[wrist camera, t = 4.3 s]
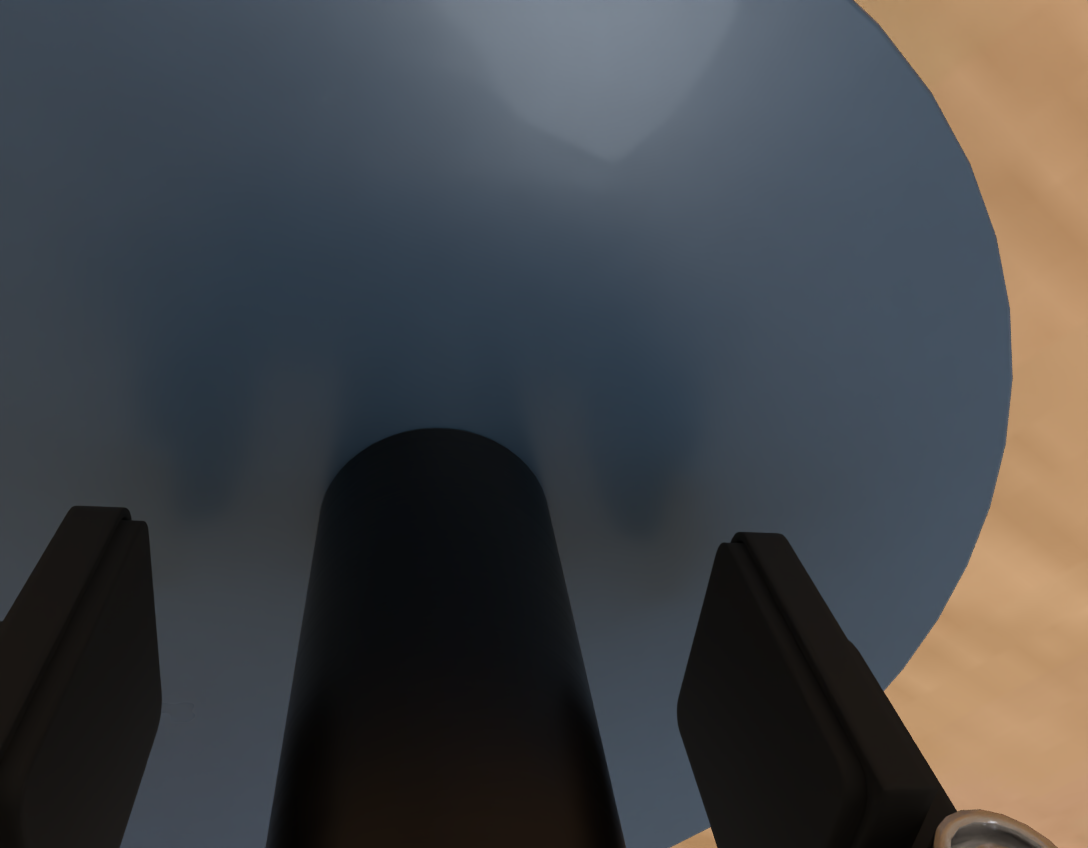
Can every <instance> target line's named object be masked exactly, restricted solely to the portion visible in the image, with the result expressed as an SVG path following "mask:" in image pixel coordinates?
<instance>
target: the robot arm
mask: <svg viewBox="0 0 1088 848" xmlns="http://www.w3.org/2000/svg"><path fill="white" fill-rule="evenodd" d="M161 709H162V690H161V678H160V665H159V653H158V640H157V628H156V615H155V603H154V590H153V578H152V566H151V553H150V541H149V530H148V525H147V523H146V522H145V521H134V520H132V518H131V514H130V511H129V510H128V509H127V508H126V507H101V506H73V507H71V509H70V510H69V511H68V512H67V514H66V516H65V517H64V519H63V521H62V522H61V524H60V526H59V527H58V529H57V531H56V533H55V534H54V536H53V538H52V539H51V541H50V543H49V544H48V546H47V548H46V549H45V551H44V553H43V554H42V556H41V558H40V559H39V561H38V563H37V564H36V566H35V568H34V570H33V571H32V573H31V575H30V576H29V578H28V580H27V581H26V583H25V585H24V586H23V588H22V590H21V591H20V593H19V595H18V596H17V598H16V600H15V601H14V603H13V605H12V607H11V608H10V610H9V612H8V613H7V615H6V617H5V618H4V620H3V621H0V848H120V845H121V842H122V839H123V836H124V833H125V830H126V827H127V824H128V820H129V817H130V814H131V811H132V808H133V805H134V802H135V799H136V796H137V792H138V789H139V786H140V783H141V780H142V777H143V774H144V771H145V768H146V764H147V761H148V758H149V755H150V752H151V749H152V746H153V743H154V740H155V736H156V733H157V730H158V726H159V722H160V717H161ZM677 722H678V728H679V732H680V735H681V738H682V741H683V744H684V747H685V750H686V753H687V756H688V759H689V762H690V765H691V768H692V771H693V774H694V777H695V780H696V783H697V786H698V789H699V792H700V796H701V799H702V802H703V805H704V808H705V811H706V814H707V817H708V820H709V823H710V826H711V829H712V832H713V835H714V838H715V841H716V844H717V847H718V848H1057V847H1056V846H1055V845H1054V844H1053V843H1052V842H1051V841H1050V840H1049V839H1047V838H1046V837H1044V836H1043V835H1041V834H1040V833H1038V832H1037V831H1035V830H1034V829H1032V828H1031V827H1029V826H1028V825H1026V824H1024V823H1021V822H1019V821H1017V820H1015V819H1012V818H1010V817H1008V816H1005V815H1003V814H999V813H994V812H990V811H985V810H981V809H979V810H960V811H958V812H957V810H956V809H955V807H954V806H953V804H952V802H951V801H950V799H949V797H948V796H947V794H946V793H945V791H944V789H943V788H942V786H941V784H940V783H939V781H938V779H937V778H936V776H935V775H934V773H933V771H932V770H931V768H930V766H929V765H928V763H927V761H926V760H925V758H924V757H923V755H922V753H921V752H920V750H919V748H918V747H917V745H916V744H915V742H914V740H913V739H912V737H911V735H910V734H909V732H908V730H907V729H906V727H905V726H904V724H903V722H902V721H901V719H900V717H899V716H898V714H897V712H896V711H895V709H894V708H893V706H892V704H891V703H890V701H889V699H888V698H887V696H886V695H885V693H884V691H883V690H882V688H881V686H880V685H879V683H878V681H877V680H876V678H875V677H874V675H873V673H872V672H871V670H870V668H869V667H868V665H867V663H866V662H865V660H864V659H863V657H862V655H861V654H860V652H859V651H858V649H857V648H856V647H855V646H854V644H853V643H852V642H851V641H849V640H848V639H847V637H846V635H845V634H844V632H843V630H842V629H841V627H840V626H839V624H838V622H837V621H836V619H835V617H834V616H833V614H832V612H831V611H830V609H829V607H828V606H827V604H826V602H825V601H824V599H823V597H822V596H821V594H820V593H819V591H818V589H817V588H816V586H815V584H814V583H813V581H812V579H811V578H810V576H809V574H808V573H807V571H806V569H805V568H804V566H803V565H802V563H801V561H800V560H799V558H798V556H797V555H796V553H795V551H794V550H793V548H792V546H791V545H790V543H789V541H788V540H787V539H786V537H785V536H784V535H783V534H780V533H761V532H737V533H735V535H734V536H733V538H732V540H731V542H730V543H725V542H723V543H721V544H720V545H719V547H718V549H717V552H716V555H715V559H714V563H713V567H712V571H711V574H710V578H709V582H708V586H707V590H706V594H705V597H704V601H703V605H702V609H701V613H700V616H699V620H698V624H697V628H696V632H695V636H694V639H693V643H692V647H691V651H690V655H689V659H688V662H687V666H686V670H685V674H684V678H683V682H682V685H681V689H680V693H679V697H678V702H677Z"/></svg>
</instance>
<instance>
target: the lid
mask: <svg viewBox="0 0 1088 848" xmlns="http://www.w3.org/2000/svg"><path fill="white" fill-rule="evenodd" d="M1012 379H1013V376H1012V350H1011V324H1010V307H1009V302H1008V296H1007V291H1006V286H1005V281H1004V275H1003V270H1002V265H1001V260H1000V254H999V249H998V244H997V239H996V235H995V232H994V229H993V227H992V224H991V221H990V218H989V215H988V213H987V210H986V207H985V204H984V201H983V199H982V196H981V193H980V190H979V187H978V185H977V182H976V179H975V176H974V173H973V170H972V168H971V165H970V163H969V161H968V159H967V157H966V155H965V153H964V151H963V150H962V148H961V146H960V144H959V142H958V140H957V139H956V137H955V135H954V133H953V131H952V129H951V128H950V126H949V124H948V122H947V120H946V118H945V117H944V115H943V113H942V111H941V109H940V107H939V106H938V104H937V102H936V100H935V98H934V96H933V95H932V93H931V91H930V90H929V89H928V87H927V86H926V85H925V83H924V82H923V81H922V80H921V78H920V77H919V76H918V74H917V73H916V72H915V70H914V69H913V68H912V67H911V65H910V64H909V63H908V61H907V60H906V59H905V57H904V56H903V55H902V54H901V52H900V51H899V50H898V48H897V47H896V46H895V44H894V43H893V42H892V41H891V39H890V38H889V37H888V35H887V34H886V33H885V31H884V30H883V29H882V28H881V26H880V25H879V24H878V23H877V22H876V21H875V20H874V19H873V18H872V17H871V16H870V15H869V14H868V13H867V12H866V11H865V10H863V9H862V8H861V7H860V6H859V5H858V4H857V3H856V2H855V1H854V0H0V621H3V620H4V618H5V617H6V615H7V613H8V612H9V610H10V608H11V607H12V605H13V603H14V601H15V600H16V598H17V596H18V595H19V593H20V591H21V590H22V588H23V586H24V585H25V583H26V581H27V580H28V578H29V576H30V575H31V573H32V571H33V570H34V568H35V566H36V564H37V563H38V561H39V559H40V558H41V556H42V554H43V553H44V551H45V549H46V548H47V546H48V544H49V543H50V541H51V539H52V538H53V536H54V534H55V533H56V531H57V529H58V527H59V526H60V524H61V522H62V521H63V519H64V517H65V516H66V514H67V512H68V511H69V510H70V509H71V507H73V506H101V507H126V508H127V509H128V510H129V511H130V514H131V518H132V520H134V521H145V522H146V523H147V525H148V530H149V541H150V553H151V566H152V578H153V590H154V603H155V615H156V628H157V640H158V653H159V665H160V678H161V690H162V709H161V717H160V722H159V726H158V730H157V733H156V736H155V740H154V743H153V746H152V749H151V752H150V755H149V758H148V761H147V764H146V768H145V771H144V774H143V777H142V780H141V783H140V786H139V789H138V792H137V796H136V799H135V802H134V805H133V808H132V811H131V814H130V817H129V820H128V824H127V827H126V830H125V833H124V836H123V839H122V842H121V845H120V848H670V847H672V846H674V845H676V844H678V843H680V842H682V841H684V840H686V839H688V838H690V837H692V836H694V835H696V834H698V833H700V832H702V831H704V830H706V829H708V828H710V827H711V826H710V823H709V820H708V817H707V814H706V811H705V808H704V805H703V802H702V799H701V796H700V792H699V789H698V786H697V783H696V780H695V777H694V774H693V771H692V768H691V765H690V762H689V759H688V756H687V753H686V750H685V747H684V744H683V741H682V738H681V735H680V732H679V728H678V722H677V702H678V697H679V693H680V689H681V685H682V682H683V678H684V674H685V670H686V666H687V662H688V659H689V655H690V651H691V647H692V643H693V639H694V636H695V632H696V628H697V624H698V620H699V616H700V613H701V609H702V605H703V601H704V597H705V594H706V590H707V586H708V582H709V578H710V574H711V571H712V567H713V563H714V559H715V555H716V552H717V549H718V547H719V545H720V544H721V543H723V542H725V543H730V542H731V540H732V538H733V536H734V535H735V533H737V532H761V533H780V534H783V535H784V536H785V537H786V539H787V540H788V541H789V543H790V545H791V546H792V548H793V550H794V551H795V553H796V555H797V556H798V558H799V560H800V561H801V563H802V565H803V566H804V568H805V569H806V571H807V573H808V574H809V576H810V578H811V579H812V581H813V583H814V584H815V586H816V588H817V589H818V591H819V593H820V594H821V596H822V597H823V599H824V601H825V602H826V604H827V606H828V607H829V609H830V611H831V612H832V614H833V616H834V617H835V619H836V621H837V622H838V624H839V626H840V627H841V629H842V630H843V632H844V634H845V635H846V637H847V639H848V640H849V641H851V642H852V643H853V644H854V646H855V647H856V648H857V649H858V651H859V652H860V654H861V655H862V657H863V659H864V660H865V662H866V663H867V665H868V667H869V668H870V670H871V672H872V673H873V675H874V677H875V678H876V680H877V681H878V683H879V685H880V686H881V688H882V690H883V691H884V690H885V689H886V688H887V687H888V686H889V685H890V683H891V682H892V681H893V680H894V679H895V678H896V677H897V675H898V674H899V673H900V672H901V671H902V670H903V669H904V667H905V666H906V664H907V663H908V661H909V660H910V659H911V657H912V656H913V654H914V653H915V651H916V650H917V649H918V647H919V646H920V644H921V643H922V641H923V640H924V639H925V637H926V636H927V634H928V633H929V632H930V630H931V629H932V627H933V626H934V624H935V623H936V622H937V620H938V618H939V617H940V615H941V613H942V611H943V609H944V607H945V606H946V604H947V602H948V600H949V598H950V596H951V594H952V593H953V591H954V589H955V587H956V585H957V583H958V581H959V580H960V578H961V576H962V574H963V572H964V570H965V569H966V567H967V565H968V562H969V560H970V557H971V554H972V552H973V549H974V547H975V544H976V542H977V539H978V537H979V534H980V531H981V529H982V526H983V524H984V521H985V519H986V516H987V514H988V511H989V508H990V505H991V501H992V497H993V493H994V489H995V485H996V481H997V477H998V473H999V469H1000V465H1001V461H1002V457H1003V453H1004V449H1005V445H1006V436H1007V426H1008V417H1009V407H1010V398H1011V388H1012Z"/></svg>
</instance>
